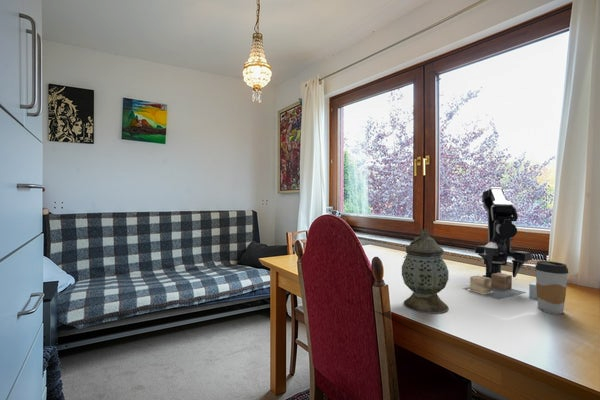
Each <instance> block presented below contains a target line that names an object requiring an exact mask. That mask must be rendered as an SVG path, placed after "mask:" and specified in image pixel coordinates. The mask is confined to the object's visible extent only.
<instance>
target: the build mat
mask: <svg viewBox="0 0 600 400" xmlns="http://www.w3.org/2000/svg"><path fill="white" fill-rule="evenodd" d="M461 289H462V290H465V291H468V292H472V293H475V294H479V295H483V296H486V297H490V298H493V299H496V300H501V299H506V298H510V297H514V296H518V295H522V294H526V293H527V292H526V291H522V290H520V289H519V290H518V289H515V288H511V289H506V290H503V289H499V288H495V287H491V292H487V293H480V292H476V291H472V290H470V286H467V287H464V288H461Z"/></svg>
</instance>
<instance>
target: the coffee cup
mask: <svg viewBox="0 0 600 400" xmlns="http://www.w3.org/2000/svg"><path fill="white" fill-rule="evenodd" d="M534 266H535V267H534V269H535V282H536V289H537V298H536V300H537V307H538V309H540V310H541V311H542V312H543V313H544V312H546V313H549V314H554V315H555V314H556V315H561V314H563V312H565V303H566V297H567V296H566V295H567V294H566V293H567V283H568V281H567V280H568V274H569V268H568V267H567V264H566V263H561V262H557V261H548V260H547V261H546V260H537V261H536V264H535V265H534Z"/></svg>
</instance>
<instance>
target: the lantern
mask: <svg viewBox="0 0 600 400" xmlns="http://www.w3.org/2000/svg"><path fill="white" fill-rule="evenodd" d="M413 238H414V239H413V241H411V242H410V244H409V245H407V246H405V250H406V251H405V253H406V254H405V256H403V259H404V260H403V262H402V265H401V277H402V280H403V283H404V285H405V286H406V287H407V288H408V289H409V290H410V291H411V292H412V294H411V295H410V296H409V297H408V298H406V299H405V300H404V301H403V303H404V305H403V306H405V307H406V308H407V309H409V310H410V311H411V310H412V311H414V312H417V313H423V314H428V315H429V314H430V315H440V314H445V313H448V311H449V306H448V305H447V304H446V302H444V300H442V299H441V298H440V297H439V294H438V293H440V292H441V291H442V290H444V289H445V288H446V285H447V283H448V281H449V274H450V273H449V269H448V266H447V264H446V262H445V261H444V259H443V258H442V256H443V255H444V252H445V251H444V249H443V248H442V247H441V246H440V245H439V244H438V243H437V242H436V240H435V239H434V238H433V237H431V236H430V232H429V230H427V229H422V230H421V231H420V234H419V236H416V237H413Z"/></svg>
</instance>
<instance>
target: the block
mask: <svg viewBox="0 0 600 400" xmlns="http://www.w3.org/2000/svg"><path fill="white" fill-rule="evenodd" d="M528 285H529V288H528V289H529V291H528V292H529V293H528V294H529V295H528V297H529V298H534V299H537V289H536V281H532V282H530V283H529V284H528Z"/></svg>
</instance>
